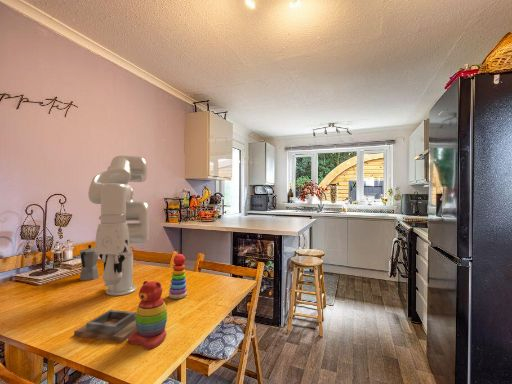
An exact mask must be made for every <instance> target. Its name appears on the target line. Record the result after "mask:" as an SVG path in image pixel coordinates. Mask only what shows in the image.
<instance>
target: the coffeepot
mask: <svg viewBox="0 0 512 384" xmlns="http://www.w3.org/2000/svg"><path fill="white" fill-rule="evenodd" d="M79 254H80V255H79V256H80V260H81V264H82V265H81V270H80V275H79V280H80V281H83V282H85V281H86V282H88V281H93V280H96V279H98V278H99V271H98V263H97V262H98V260H99V258H98V257H99V256H98V255H97V254H95V247H94V248H93V247H92V244H88V245H87V248H85V249H81V250H80V251H79Z"/></svg>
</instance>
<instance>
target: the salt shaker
mask: <svg viewBox="0 0 512 384" xmlns="http://www.w3.org/2000/svg"><path fill="white" fill-rule="evenodd" d="M114 264H115V255H108V256H107V261H106V266H105V270H104V269H103V275H102V280H103V281H104V283H106V285H115V284H118V283H119V282H120V280H121V278H122V271H121V272H120V273H118V272H117V269H116V273H115V272H114Z"/></svg>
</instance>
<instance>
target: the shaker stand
mask: <svg viewBox="0 0 512 384" xmlns="http://www.w3.org/2000/svg"><path fill="white" fill-rule="evenodd" d="M136 313H137V311H136V312H134V311H125V310H115V309H109V310H107V311H106V312H104V313H102V314H100V315H98V316H97V317H95V318H93V319H92V320H90V321H87V322H86V323H85V324H84V325H82V326H80V327H79V328H77V329H75V330H74V331H73V336H74V337H79V338H80V337H81V338H87V339H88V338H89V339H96V340H103V341H104V340H105V341H108V342H109V341H110V342H117V343H118V342H119V343H125V342H126V341H128V338H129V336H130V335H131V334H133V333H134V332H136V331H137V327H136V320H135V319H136Z"/></svg>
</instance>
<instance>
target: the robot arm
mask: <svg viewBox="0 0 512 384" xmlns="http://www.w3.org/2000/svg"><path fill="white" fill-rule="evenodd" d="M147 178H148V163H147V161H146V160H145V158H144V157H142V156H138V155H137V156H135V155H117V156H115V157H113V158H112V159H111V162H110V165H109V166H108V167H107V170H104V171H103V172H100V173H98V174H97V175H95V176H94V177H93V178H92V179H91V183H90V185H89V188H88V199H89V202H91V203H92V204H95V205H100V215H99V217H98V219H99V221H100V223H98V224H97V229H96V233H95V235H96V236H95V243H94V248H95V254H97V255H98V257H99V258H100V259H101V263H102V264H103V271H104V270H105V266H106V261H107V256H108V255H115V264H114V272H115V273H116V269H117V272H118V273H120V272H121V271H122V278H121V280H120V282H119V283H118V284H115V285H106V283H105V282H104V284H103V286H104V287H107V289H106V291H105V293H106V295H108V296H123V295H124V296H125V295H128V294H131V293H134V292H135V291H136V290H137V286H136V285H135V284H133V283H134V281H133V279H134V274H133V273H134V266H133V265H134V253H133V250H132V248H131V247H130V244H143V243H147V242H148V241H149V238H150V207H149V204H148V202H146V201H135V200H134V196H135V195H134V189H133V187H132V185H130V184H128V183H144V182H146V181H147ZM136 221H137V222H136ZM126 222H128V223H126ZM129 222H135V223H129Z"/></svg>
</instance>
